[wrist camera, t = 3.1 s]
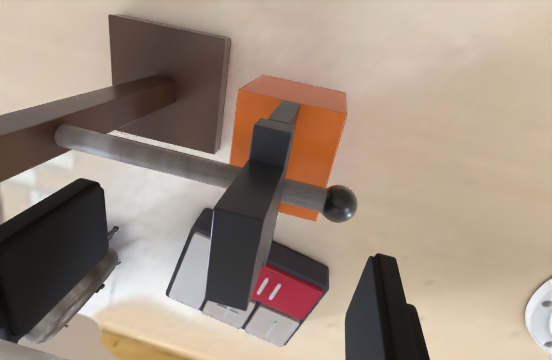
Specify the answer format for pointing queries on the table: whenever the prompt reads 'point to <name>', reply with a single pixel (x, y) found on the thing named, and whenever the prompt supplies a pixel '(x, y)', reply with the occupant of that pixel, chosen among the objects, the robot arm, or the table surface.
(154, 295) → the table surface
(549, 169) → the table surface
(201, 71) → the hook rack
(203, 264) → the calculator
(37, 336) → the alarm clock
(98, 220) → the robot arm
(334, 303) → the table surface
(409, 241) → the table surface
